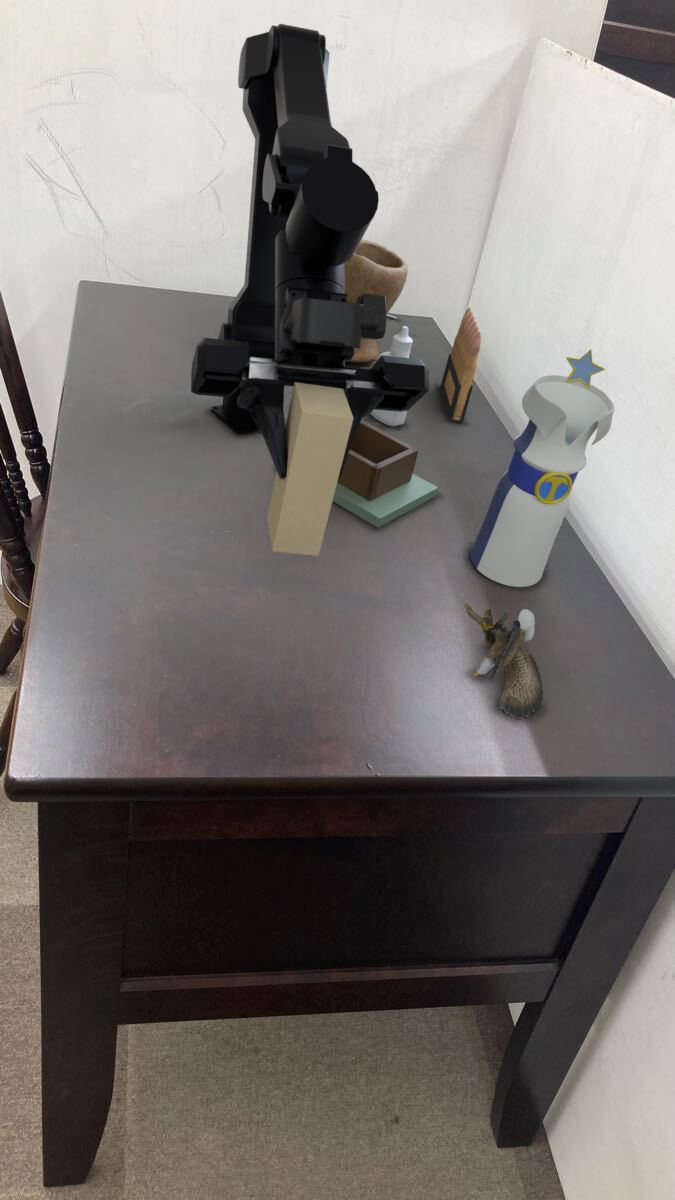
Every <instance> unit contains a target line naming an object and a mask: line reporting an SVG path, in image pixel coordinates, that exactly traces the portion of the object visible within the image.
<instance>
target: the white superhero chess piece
mask: <svg viewBox="0 0 675 1200" xmlns="http://www.w3.org/2000/svg"><path fill="white" fill-rule="evenodd" d="M592 352H593V351H592V348H590V349H588V351H587V352H585V353H584V354H583V355H582V356H581V357H573V356H566V360H567V362H568V364H569V366H570V367H571V368H572V371H571V372H570V374H569V375H568V376H566V375H556V374H550V375H544V376H541V377H539V378H537V379H536V380H535V381H534V383H533V384H532V385H531V386H530V387H529V388H528V389H527V390H526V392H524V394H523V396H522V398H521V405H522V410H523V413H524V414H525V415H526V416H527V418H528V423H527V425H526V427H525V428H524V430H523V431H522V432H521V433H520V434H518V435H517V436H516V437H515V438H514V440H513V447H514V452H513V455H512V458H511V461H510V463H509V467H508V469H507V470H506V471H505V472H504V473H503V474H502V476H501V478H500V479H499V481H498V483H497V486H496V488H495V490H494V493H493V496H492V498H491V501H490V503H489V507H488V509H487V512H486V514H485V516H484V519H483V521H482V524H481V526H480V529H479V531H478V533H477V535H476V538H475V541H474V542H473V545H472V547H471V549H470V552H469V558H470V561H471V563H472V565H473V566H474V567H475V569H476V570H477V571H478V572H479V573H480V574H482V575H483V576H484V577H486V578H488V579H490V580H491V581H493V582H496V583H498V584H501V585H505V586H507V587H512V588H526V587H531V586H534V585H536V584H537V583H538V582H540V580H542V577H543V574H544V572H545V569H546V565H547V563H548V559H549V556H550V554H551V552H552V549H553V546H554V543H555V541H556V538H557V537H558V533H559V531H560V528H561V526H562V524H563V521H564V519H565V516H566V514H567V511H568V508H569V505H570V500H571V492H572V489H573V486H574V484H575V481H576V479H577V477H578V474H579V472H580V471H582V470H584V469H585V468H586V465H587V458H586V449H587V445H588V443H589V440H590V439H591V437H592V436H593V434H594V433H595V438H594V439H593V441H592V443H591V446H593V445H595V444H598V442H600V441H601V440H602V439H604V438H605V437H606V436H607V435H608V433H609V432H610V430H611V427H612V422H613V415H614V411H615V404H614V402H613V401H612V399H611V398H610V397H609V396H608V395H607V393H605V392H604V391H603V390H601V389H600V388H599V387H597V386H595V385H593V384H591V380H592V376H594V375H596V374H599V373H601V372H603V371H605V370H606V368H605V367H604V366H602V365H599V364H597V363H596V362H593V353H592ZM595 431H596V432H595Z"/></svg>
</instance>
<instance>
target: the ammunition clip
mask: <svg viewBox="0 0 675 1200" xmlns="http://www.w3.org/2000/svg"><path fill="white" fill-rule="evenodd" d="M477 323H478V322H477V321H476V317H474V315H473V312H472V309H471V307H470V306H469V307H468V308H467V309H466V311H465V312H464V314H463V316H462V319H461V322H460V325H459V328H458V331H457V333H456V335H455V338H454V341H453V345H452V349H451V353H449V354H448V357H447V360H446V364H445V368H444V372H443V376H442V380H441V383H440V386H439V388H440V393H441V396H442V400H443V403H444V404H443V405H444V409H445V411H446V414H447V419H448V421H449V422H454V423H460V424H462V423H464V420H465V417H466V412H467V409H468V405H469V402H470V399H471V394H472V391H473V387H474V386H473V381H474V377H475V374H476V371H477V366H478V359H479V353H480V350H481V344H482V334H481V332H480V328H479V326H478V325H477Z"/></svg>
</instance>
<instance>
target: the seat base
mask: <svg viewBox="0 0 675 1200" xmlns="http://www.w3.org/2000/svg"><path fill="white" fill-rule="evenodd" d="M418 454H419V448H416V447H414V446H413V445H410V444H409V443H408V442H405V441H403V440H401V439H399V438H398V437H395V436H393V435H392V434H389V433H388V432H386V431H384V430H382V429H380V428H378V427H377V426H374V425H373V424H371V423H369V422H367V421H365V420H363V418H362V419H361V421H360V423H359V425H358V427H357V430H356V432H355V435H354V438H353V441H352V444H351V447H350V450H349V453H348V456H347V459H346V462H345V465H344V468H343V471H342V474H341V477H340V480H339V481H338V482H337V485H336V489H335V493H334V497H333V501H332V503H335V504H337V505H338V506H340V507H342V508H343V509H345V510H347V511H348V512H350V513H352V514H354V515H355V516H357V517H359V518H360V519H362V520H363V521H366V522H367V523H368V524H371V525H372V526H373V527H375V528H377V529H379V528H380V527H382V526H384V525H386V524H388V523H390V522H391V521H393V520H395V519H397V518H399V517H401V516H402V515H404V514H406V513H408V512H410V511H412V510H413V509H416V508H417V507H420V506H421V505H423V504H424V503H426V502H428V501H430V500H432V499H433V498H435V497H437V493H438V490H439V487H438V486H436V485H434V484H433V483H431V482H429V481H427V480H425V479H423V478H421V477H420V476H418V475H416V474H414V470H415V466H416V462H417V458H418Z"/></svg>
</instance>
